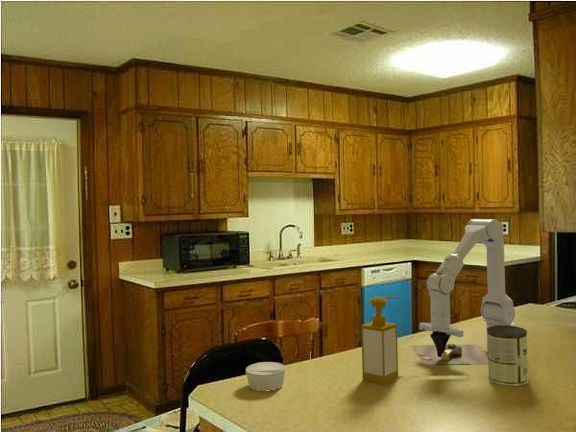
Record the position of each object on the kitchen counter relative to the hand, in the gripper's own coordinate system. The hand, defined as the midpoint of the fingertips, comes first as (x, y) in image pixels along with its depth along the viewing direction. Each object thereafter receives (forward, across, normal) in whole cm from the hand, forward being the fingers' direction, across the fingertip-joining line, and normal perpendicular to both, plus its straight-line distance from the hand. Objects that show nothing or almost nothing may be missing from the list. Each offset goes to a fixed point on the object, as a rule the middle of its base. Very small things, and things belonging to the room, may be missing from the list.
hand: (441, 356), depth 166 cm
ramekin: (+3, -22, -52) cm, 56 cm away
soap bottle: (+2, -4, -22) cm, 23 cm away
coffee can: (+2, +22, -1) cm, 22 cm away
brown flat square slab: (+2, -1, +7) cm, 7 cm away
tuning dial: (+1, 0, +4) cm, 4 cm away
